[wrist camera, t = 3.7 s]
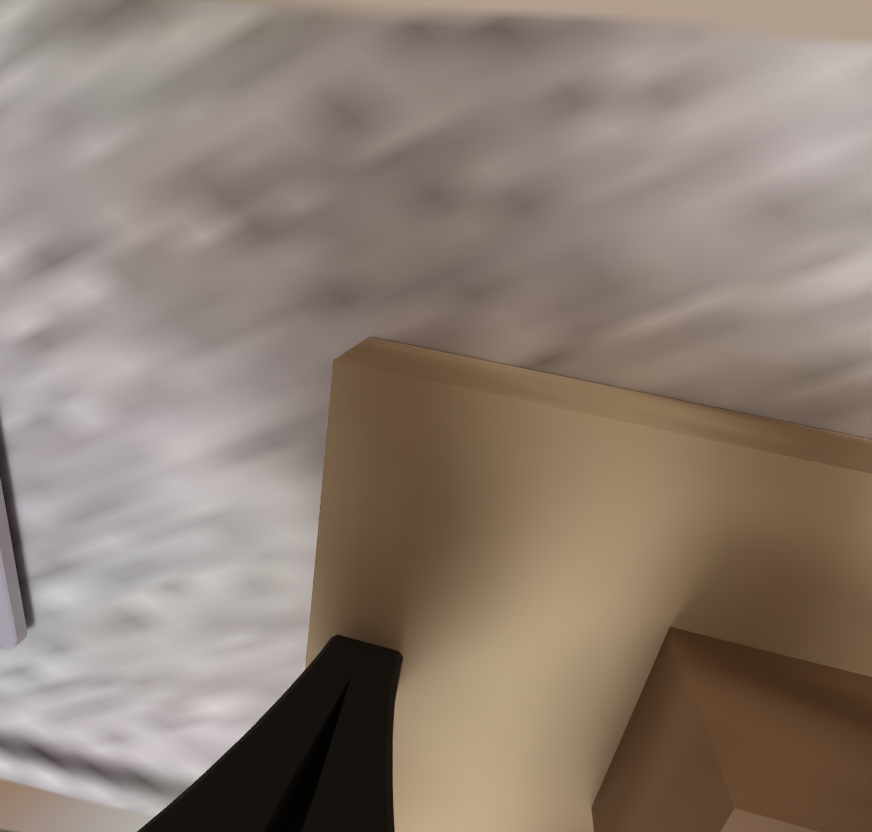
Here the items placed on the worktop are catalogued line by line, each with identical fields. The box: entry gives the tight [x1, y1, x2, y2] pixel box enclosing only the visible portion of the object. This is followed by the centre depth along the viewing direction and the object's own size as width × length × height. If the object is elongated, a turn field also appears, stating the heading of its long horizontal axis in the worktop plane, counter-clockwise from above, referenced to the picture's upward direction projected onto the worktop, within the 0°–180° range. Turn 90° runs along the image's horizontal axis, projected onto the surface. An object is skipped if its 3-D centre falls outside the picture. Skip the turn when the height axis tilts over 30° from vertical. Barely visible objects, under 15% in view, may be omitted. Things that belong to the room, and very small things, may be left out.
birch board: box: [305, 337, 872, 832], centre depth 11 cm, size 14×12×2 cm
